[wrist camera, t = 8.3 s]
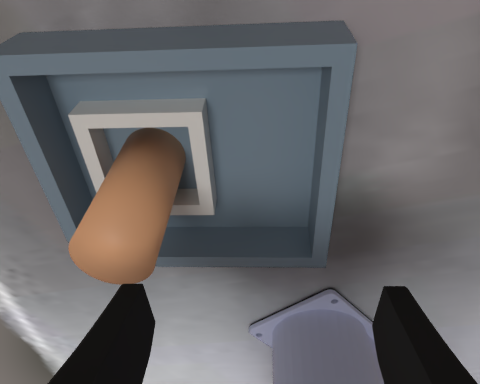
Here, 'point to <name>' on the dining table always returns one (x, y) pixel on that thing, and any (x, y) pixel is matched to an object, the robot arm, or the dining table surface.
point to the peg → (130, 210)
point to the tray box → (194, 129)
